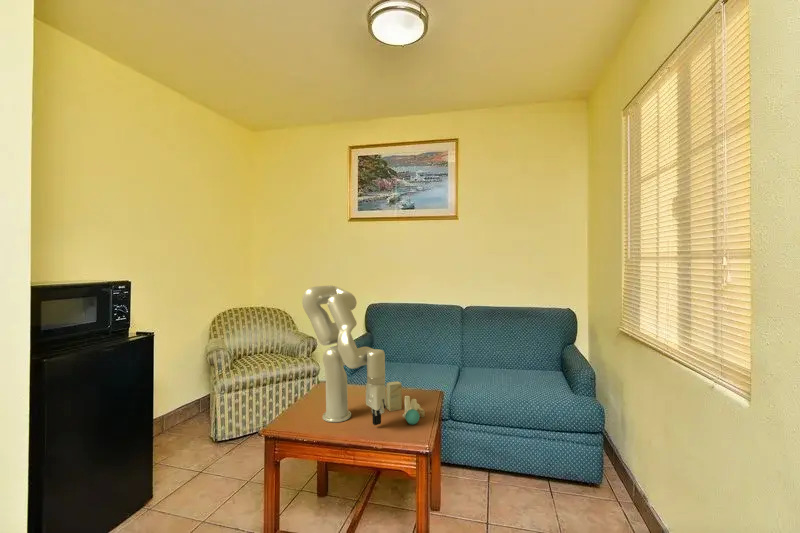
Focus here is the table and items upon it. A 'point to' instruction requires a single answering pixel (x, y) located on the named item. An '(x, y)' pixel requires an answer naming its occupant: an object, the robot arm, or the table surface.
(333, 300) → the robot arm
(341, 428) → the table surface
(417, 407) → the pin front
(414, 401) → the pin
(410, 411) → the ball
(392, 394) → the skincare box
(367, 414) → the table surface
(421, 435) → the table surface
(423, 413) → the back rail
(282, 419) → the table surface
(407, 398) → the pin
